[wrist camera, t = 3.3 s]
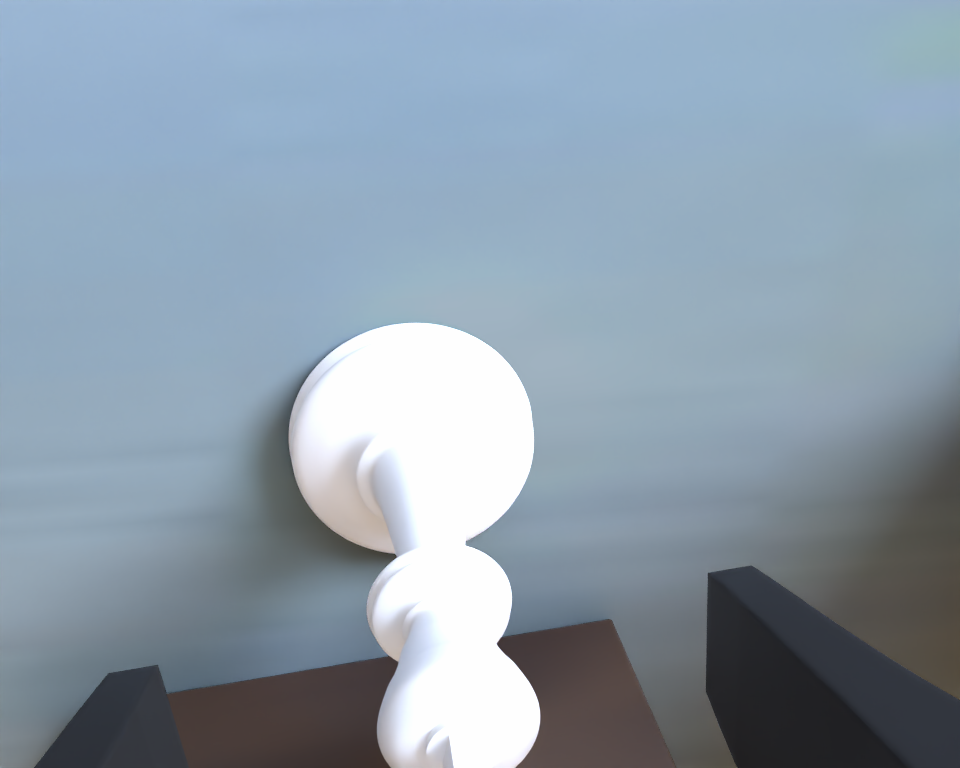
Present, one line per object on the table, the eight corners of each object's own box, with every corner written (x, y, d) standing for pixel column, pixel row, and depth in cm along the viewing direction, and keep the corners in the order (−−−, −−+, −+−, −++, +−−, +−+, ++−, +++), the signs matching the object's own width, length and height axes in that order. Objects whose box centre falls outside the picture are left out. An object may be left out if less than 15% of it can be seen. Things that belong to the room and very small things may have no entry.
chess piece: (505, 548, 20) (649, 1028, 10) (276, 529, 18) (213, 1040, 9) (554, 339, 18) (779, 698, 9) (304, 305, 17) (260, 670, 8)
